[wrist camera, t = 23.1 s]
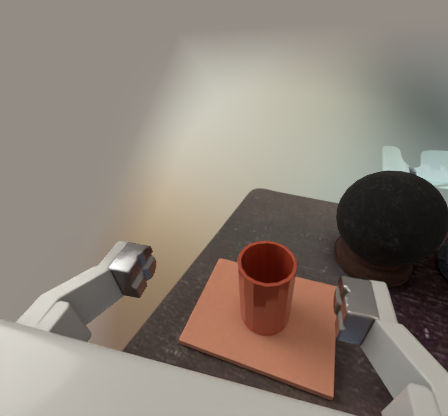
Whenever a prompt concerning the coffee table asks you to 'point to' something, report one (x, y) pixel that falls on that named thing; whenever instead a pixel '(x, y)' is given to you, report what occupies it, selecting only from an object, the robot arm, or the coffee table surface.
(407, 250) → the black ball on stand
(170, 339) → the coffee table surface
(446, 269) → the vase
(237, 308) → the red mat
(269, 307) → the terracotta cup
